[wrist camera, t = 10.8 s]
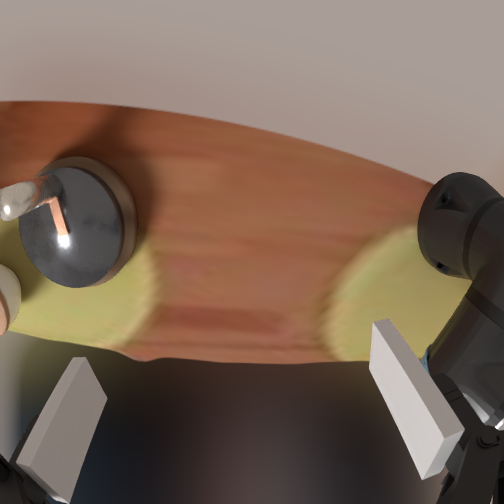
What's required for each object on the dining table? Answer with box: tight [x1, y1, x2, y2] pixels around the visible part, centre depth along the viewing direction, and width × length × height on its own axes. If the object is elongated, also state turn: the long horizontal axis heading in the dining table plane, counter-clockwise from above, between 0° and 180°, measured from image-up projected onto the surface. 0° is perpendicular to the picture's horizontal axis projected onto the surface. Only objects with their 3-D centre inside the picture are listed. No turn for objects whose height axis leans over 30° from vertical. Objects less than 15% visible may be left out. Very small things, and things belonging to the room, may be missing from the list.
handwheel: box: [0, 166, 125, 288], centre depth 30 cm, size 15×15×11 cm
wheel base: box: [34, 156, 138, 287], centre depth 36 cm, size 17×17×2 cm
